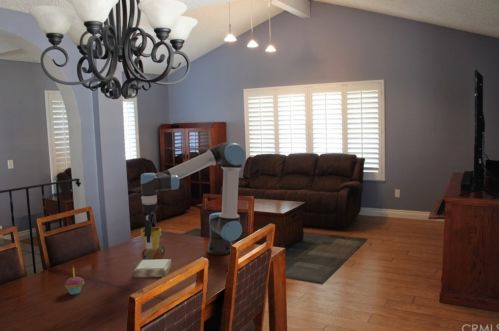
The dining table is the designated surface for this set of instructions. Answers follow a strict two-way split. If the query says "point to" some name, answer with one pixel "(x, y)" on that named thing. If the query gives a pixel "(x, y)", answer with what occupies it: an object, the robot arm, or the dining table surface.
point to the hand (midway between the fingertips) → (151, 245)
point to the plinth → (153, 268)
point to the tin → (153, 253)
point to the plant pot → (155, 236)
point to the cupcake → (74, 284)
